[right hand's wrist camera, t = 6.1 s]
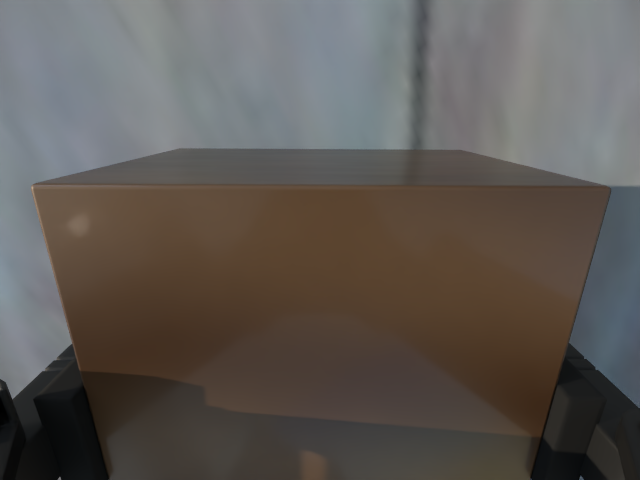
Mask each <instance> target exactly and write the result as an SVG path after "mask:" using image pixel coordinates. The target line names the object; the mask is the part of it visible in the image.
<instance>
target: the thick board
mask: <svg viewBox="0 0 640 480" xmlns="http://www.w3.org/2000/svg"><path fill="white" fill-rule="evenodd" d="M31 191H32V194H33V198H34V202H35V206H36V209H37V213H38V217H39V221H40V224H41V228H42V232H43V235H44V239H45V243H46V247H47V250H48V254H49V258H50V262H51V265H52V269H53V273H54V277H55V280H56V284H57V288H58V292H59V295H60V299H61V303H62V307H63V310H64V314H65V318H66V322H67V325H68V329H69V333H70V336H71V340H72V344H73V348H74V351H75V355H76V359H77V363H78V366H79V370H80V374H81V378H82V381H83V385H84V389H85V393H86V396H87V400H88V404H89V408H90V411H91V415H92V419H93V423H94V426H95V430H96V434H97V437H98V441H99V445H100V449H101V452H102V456H103V460H104V464H105V467H106V471H107V475H108V479H109V480H530V479H531V475H532V471H533V468H534V464H535V461H536V457H537V454H538V450H539V447H540V443H541V439H542V436H543V432H544V429H545V425H546V422H547V418H548V414H549V411H550V407H551V404H552V400H553V397H554V393H555V390H556V386H557V382H558V379H559V375H560V372H561V368H562V365H563V361H564V358H565V354H566V350H567V347H568V343H569V340H570V336H571V333H572V329H573V325H574V322H575V318H576V315H577V311H578V308H579V304H580V301H581V297H582V293H583V290H584V286H585V283H586V279H587V276H588V272H589V269H590V265H591V261H592V258H593V254H594V251H595V247H596V244H597V240H598V236H599V233H600V229H601V226H602V222H603V219H604V215H605V212H606V208H607V204H608V201H609V197H610V194H611V188H610V187H608V186H605V185H601V184H597V183H593V182H589V181H585V180H581V179H577V178H573V177H569V176H564V175H560V174H556V173H552V172H548V171H544V170H540V169H536V168H532V167H528V166H524V165H520V164H516V163H511V162H507V161H503V160H499V159H495V158H491V157H487V156H483V155H479V154H475V153H471V152H467V151H463V150H363V149H176V150H172V151H167V152H163V153H159V154H155V155H151V156H147V157H143V158H138V159H134V160H130V161H126V162H122V163H118V164H114V165H109V166H105V167H101V168H97V169H93V170H89V171H84V172H80V173H76V174H72V175H68V176H64V177H60V178H55V179H51V180H47V181H43V182H39V183H35V184H33V185H32V186H31Z"/></svg>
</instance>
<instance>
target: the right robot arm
mask: <svg viewBox="0 0 640 480" xmlns="http://www.w3.org/2000/svg"><path fill="white" fill-rule="evenodd" d="M580 475H581V476H582V477H583V479H584V480H640V408H638V407H637V406H636V405H635V404H634V403H633V402H632V401H631V400H630V399H629V398H627V397H626V396H625V395H624V394H623V393H622V392H621V391H620V390H619V389H618V388H617V387H616V386H615V385H614V384H612V383H611V382H610V381H609V380H608V379H607V378H606V377H605V376H604V375H603V374H602V373H601V372H600V371H599V370H596V369H595V367H594V366H593V365H592V364H591V363H590V362H589V361H588V360H587V359H584V356H583V355H581V354H580V353H579V352H578V351H577V350H576V349H575V348H574V347H573V346H572V345H571V344H569V343H568V347H567V350H566V354H565V358H564V361H563V365H562V368H561V372H560V375H559V379H558V382H557V386H556V390H555V393H554V397H553V400H552V404H551V407H550V411H549V414H548V418H547V422H546V425H545V429H544V432H543V436H542V439H541V443H540V447H539V450H538V454H537V457H536V461H535V464H534V468H533V471H532V475H531V479H532V480H579V478H580ZM59 477H61V480H108V475H107V471H106V467H105V464H104V460H103V456H102V452H101V449H100V445H99V441H98V437H97V434H96V430H95V426H94V423H93V419H92V415H91V411H90V408H89V404H88V400H87V396H86V393H85V389H84V385H83V381H82V378H81V374H80V370H79V366H78V363H77V359H76V355H75V351H74V348H73V344H72V345H70V346H69V347H68V348H67V349H66V350H65V351H64V352H63V353H62V354H60V355H59V356H58V357H57V360H54V361H53V362H52V363H51V364H50V365H49V366H48V367H47V368H46V369H45V371H42V372H41V373H40V374H39V375H38V376H37V377H36V378H35V379H34V380H33V381H32V382H31V383H30V384H29V385H28V386H26V387H25V388H24V389H23V390H22V391H21V392H20V393H19V394H18V395H17V396H16V397H15V398H14V399H13V400H12V398H11V395H10V392H9V390H8V387H7V384H6V382H4V381H2V380H1V379H0V480H58V478H59Z"/></svg>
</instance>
